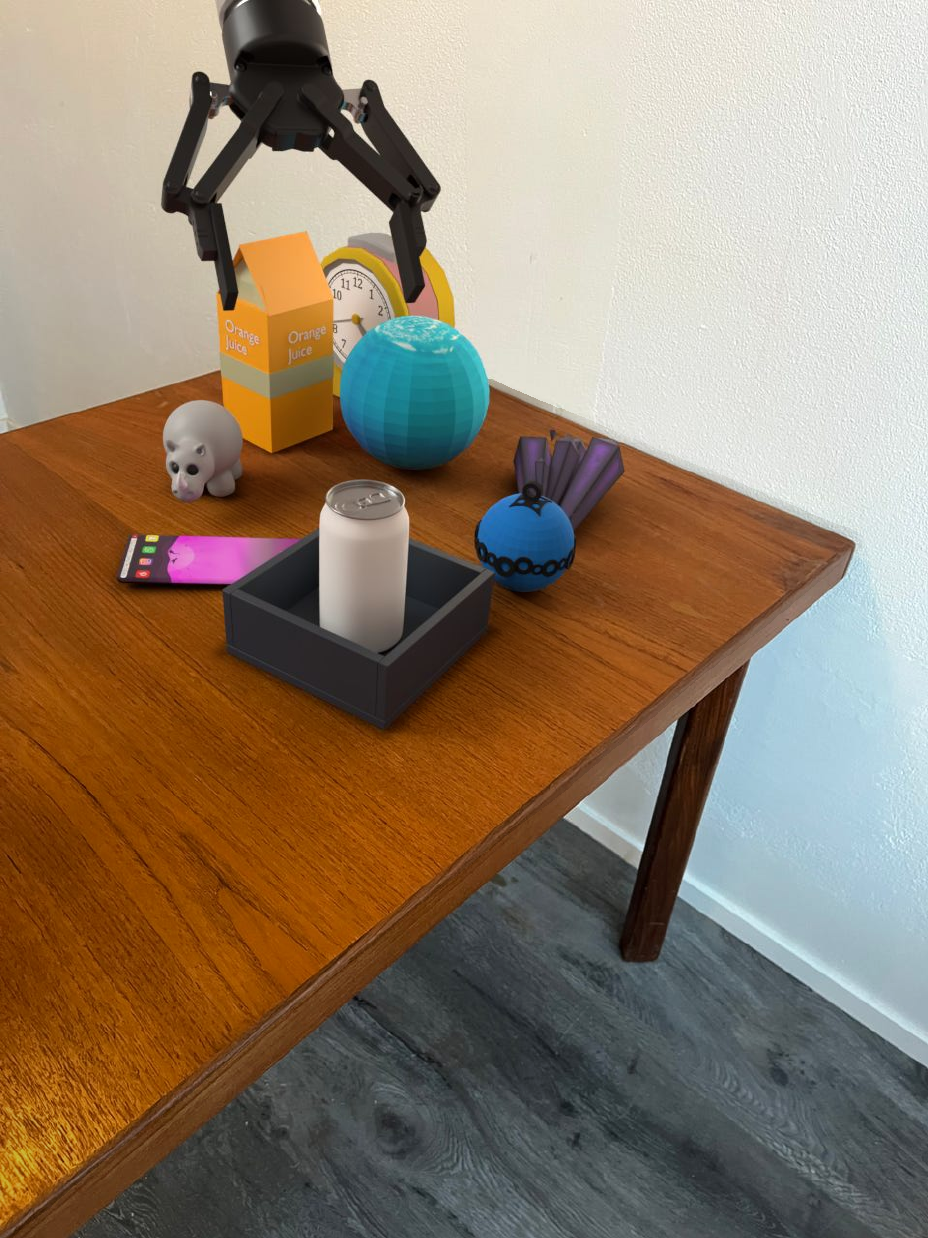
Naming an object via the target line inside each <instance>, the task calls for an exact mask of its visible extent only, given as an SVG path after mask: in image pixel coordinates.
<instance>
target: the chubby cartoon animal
mask: <svg viewBox="0 0 928 1238" xmlns="http://www.w3.org/2000/svg"><path fill="white" fill-rule="evenodd" d="M162 442H163V448H164V451H165V454H166V457H165V469H166V471H167V473H168V475H169V477H170V478H171V488H170V489H171V491H172V494H173V496H174V497H175V498H176V499H177V500H178V501H180V502H183V503H192V502H196V501H197V500H198V499H200V498H201V497H202V495H203V492H204V487H205V484H206V488H207V491H208V493H209V494H210V495H211V496H213V497H216V498H223V497H227V496H229V495H232V494H233V493H234V491H235V490H236V481H235V480H237V479H239V478H240V477H241V476H242V475H243V464H242V461H241V459H240V456H241V454H242V450H243V444H244V443H243V442H244V439H243V437H242V432H241V428H240V426H239V424H238V422H237V420H236V418H235V417H234V416H233V415H232V413H231V412H230V411H228V410H227V409H226V408H224V405H221V404H219V403H217V402H214V401H211V400H206V399H197V400H196V399H195V400H190V401H188V402H185V403H182V404H181V405H180V406H178V407H176V408H175V409H174V410H173V411H172V412H171V414H170V415H169V416H168V418H167V420H166V421H165V424H164V427H163V432H162Z"/></svg>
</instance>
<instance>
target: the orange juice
mask: <svg viewBox="0 0 928 1238" xmlns="http://www.w3.org/2000/svg"><path fill="white" fill-rule="evenodd" d="M309 235H310V234H309V233H308V231H307V230H305V231H300V232H296V233H290V234H285V235H280V236H276V237H275V236H274V237H271V238H265V239H261V240H260V239H259V240H256V241H249V242H246V243H242V244H238V248H237V251H236V253H235V254H234V256H233V258H232V260H233V265H234V270H235V276H236V281H237V286H238V291H239V293H238V297H237V301H236V305H235V309H234V310H232V311H223V306H222V301H221V296H220V291H219V290H218V291H217V292H216V293H215V294H216V295H215V296H216V310H217V311H216V312H217V325H218V326H217V327H218V342H219V366H220V376H221V387H222V388H221V389H222V402H223V403H222V404H223V405H222V406H223V407H224V408H226V409H227V410H228V411H230V412H231V413H232V415H233V416H234V417H235V418H236V420H237V422H238V424H239V426H240V428H241V432H242V437H243V440H246V442H247V441H248V442H249V443H251V444H253V445H255V446H257V447H258V448H261V449H263V450H265V451H267V452H269V453H270V454H274V453H276V452H279V451H281V450H285V449H287V448H289V447H291V446H294V445H297V444H300V443H302V442H304V441H307V440H309V439H313V438H315V437H317V436H320V435H322V434H326V433H328V432H330V431H333V430H334V394H333V377H334V354H333V309H334V297H333V295H332V292H331V290H330V287H329V285H328V282H327V280H326V277H325V275H324V272H323V270H322V268H321V265H320V264H321V262H320V261H319V260H320V259H319V257H318V255H317V252H316V251H315V248H314V245H313V243H312V241H311V238H310V236H309Z"/></svg>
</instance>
